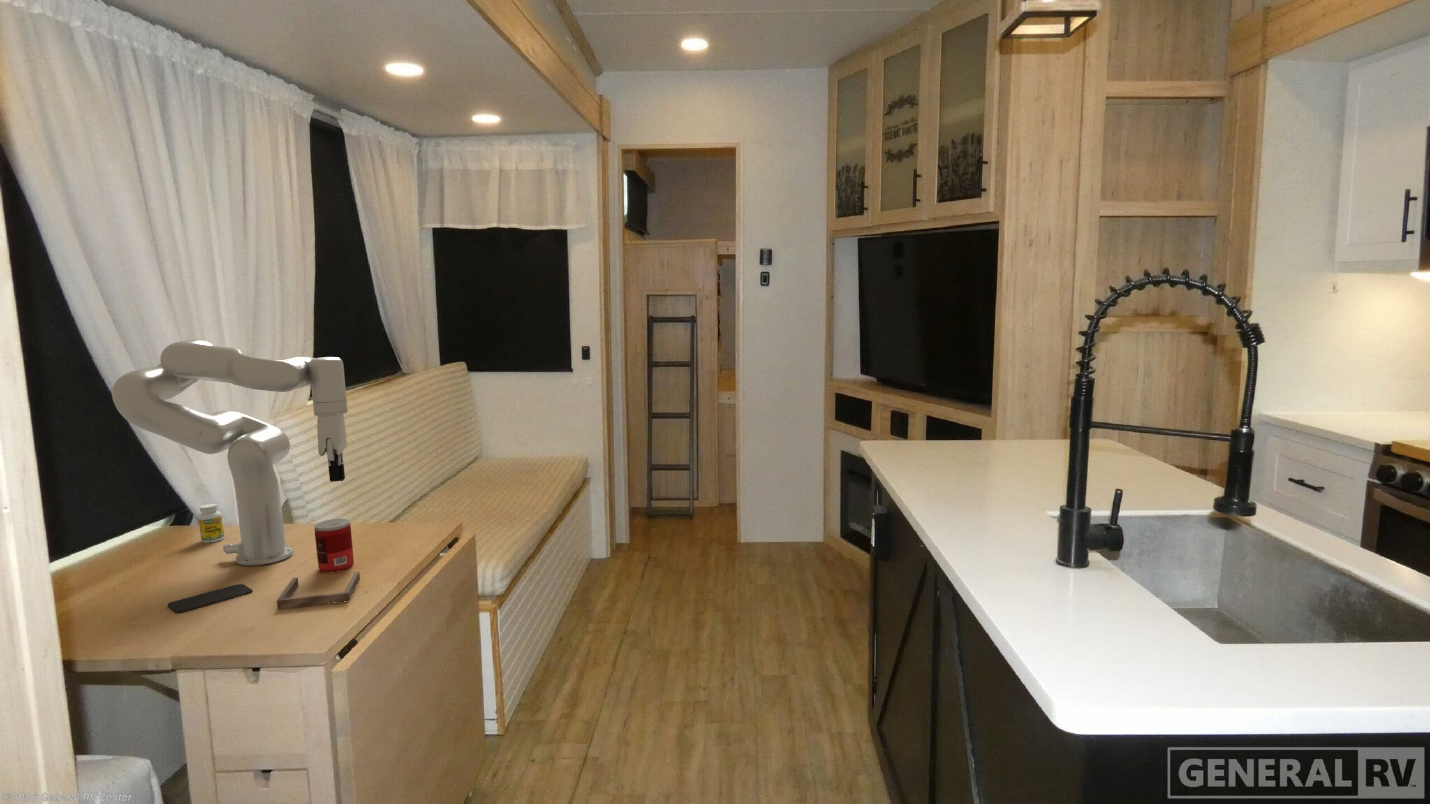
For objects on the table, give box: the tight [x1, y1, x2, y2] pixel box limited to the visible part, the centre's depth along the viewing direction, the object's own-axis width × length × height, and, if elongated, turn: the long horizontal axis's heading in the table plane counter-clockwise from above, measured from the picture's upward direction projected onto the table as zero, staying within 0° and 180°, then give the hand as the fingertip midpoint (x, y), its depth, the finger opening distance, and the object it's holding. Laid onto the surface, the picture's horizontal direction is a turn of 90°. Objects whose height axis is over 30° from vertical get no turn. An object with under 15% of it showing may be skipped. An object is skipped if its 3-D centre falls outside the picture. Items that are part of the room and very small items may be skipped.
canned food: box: [314, 518, 355, 574], centre depth 196 cm, size 8×8×11 cm
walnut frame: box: [276, 571, 361, 611], centre depth 180 cm, size 14×14×2 cm
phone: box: [167, 583, 253, 614], centre depth 179 cm, size 7×1×15 cm
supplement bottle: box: [197, 503, 225, 544], centre depth 219 cm, size 5×5×10 cm
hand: (337, 480), depth 203 cm, fingers closed
